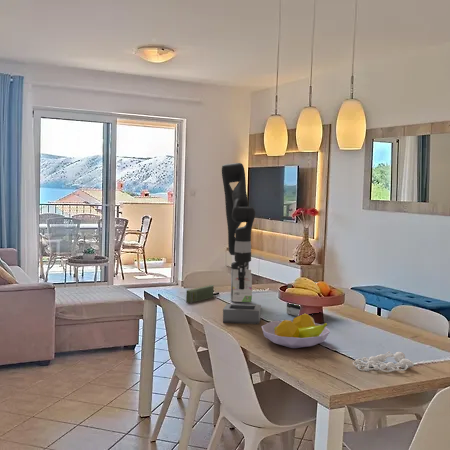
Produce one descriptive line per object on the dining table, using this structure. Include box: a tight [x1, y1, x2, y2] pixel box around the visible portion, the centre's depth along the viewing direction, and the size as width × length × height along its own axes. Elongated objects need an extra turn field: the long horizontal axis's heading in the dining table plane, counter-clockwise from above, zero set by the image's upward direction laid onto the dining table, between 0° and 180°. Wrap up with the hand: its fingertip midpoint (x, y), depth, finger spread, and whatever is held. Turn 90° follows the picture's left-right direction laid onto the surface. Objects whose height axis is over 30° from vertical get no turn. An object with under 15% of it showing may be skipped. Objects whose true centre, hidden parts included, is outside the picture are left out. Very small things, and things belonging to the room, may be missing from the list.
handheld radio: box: [185, 284, 220, 304], centre depth 301 cm, size 7×3×25 cm
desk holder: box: [222, 303, 262, 325], centre depth 256 cm, size 12×16×6 cm
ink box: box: [232, 269, 253, 303], centre depth 255 cm, size 9×5×15 cm, turn 84°
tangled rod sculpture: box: [352, 350, 414, 373], centre depth 193 cm, size 19×14×4 cm
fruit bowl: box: [261, 313, 331, 349], centre depth 220 cm, size 28×27×11 cm
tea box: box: [285, 281, 318, 317], centre depth 270 cm, size 15×10×15 cm
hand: (242, 287), depth 255 cm, fingers closed on ink box, 5 cm apart
